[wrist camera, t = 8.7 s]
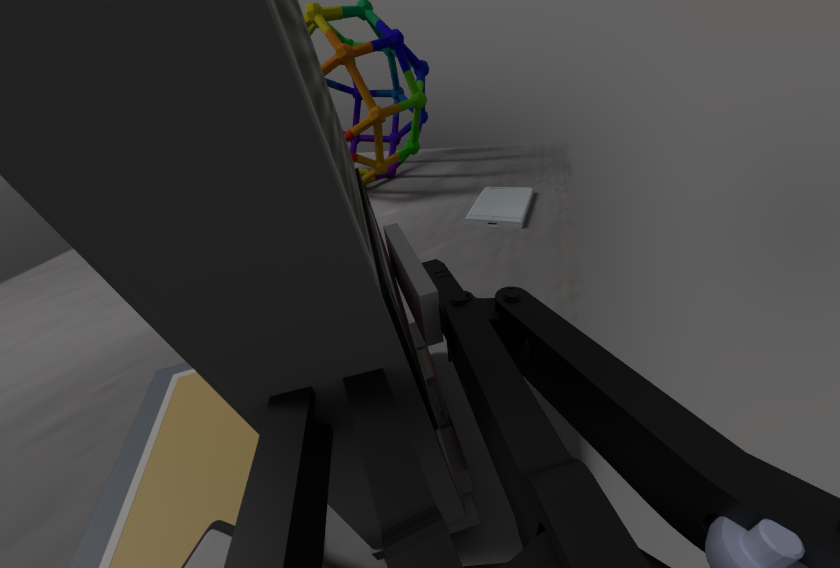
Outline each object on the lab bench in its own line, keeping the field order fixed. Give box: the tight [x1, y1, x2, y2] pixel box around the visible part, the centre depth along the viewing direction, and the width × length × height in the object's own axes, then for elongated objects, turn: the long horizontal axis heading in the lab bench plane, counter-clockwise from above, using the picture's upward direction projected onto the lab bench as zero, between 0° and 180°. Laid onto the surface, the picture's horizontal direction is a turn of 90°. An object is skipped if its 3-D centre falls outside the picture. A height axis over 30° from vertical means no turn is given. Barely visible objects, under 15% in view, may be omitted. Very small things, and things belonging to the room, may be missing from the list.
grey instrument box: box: [0, 0, 480, 560], centre depth 17 cm, size 14×6×25 cm, turn 13°
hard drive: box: [465, 187, 534, 229], centre depth 52 cm, size 2×8×12 cm
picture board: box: [69, 362, 259, 568], centre depth 25 cm, size 14×21×1 cm, turn 17°
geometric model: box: [303, 0, 429, 186], centre depth 62 cm, size 30×30×30 cm
